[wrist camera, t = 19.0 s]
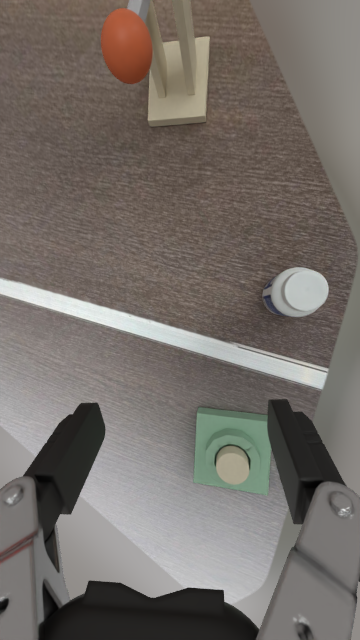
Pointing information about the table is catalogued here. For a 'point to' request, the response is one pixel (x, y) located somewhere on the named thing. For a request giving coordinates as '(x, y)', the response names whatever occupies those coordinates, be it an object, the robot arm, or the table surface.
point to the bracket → (177, 71)
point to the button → (232, 465)
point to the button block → (232, 431)
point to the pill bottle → (295, 292)
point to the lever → (128, 42)
